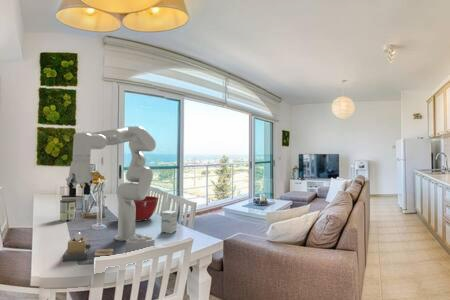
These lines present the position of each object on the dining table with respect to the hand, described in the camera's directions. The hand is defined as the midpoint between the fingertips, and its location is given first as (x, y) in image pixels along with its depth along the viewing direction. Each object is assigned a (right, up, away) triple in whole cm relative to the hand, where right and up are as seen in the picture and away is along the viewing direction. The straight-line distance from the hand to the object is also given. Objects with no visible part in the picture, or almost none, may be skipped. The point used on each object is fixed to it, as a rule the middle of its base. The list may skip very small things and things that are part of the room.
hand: (79, 195), depth 138 cm
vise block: (-1, -29, +1) cm, 29 cm away
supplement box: (+33, -30, +46) cm, 64 cm away
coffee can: (-45, -29, +74) cm, 92 cm away
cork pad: (+9, -29, +6) cm, 31 cm away
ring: (-1, -26, 0) cm, 26 cm away
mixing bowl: (+4, -30, +79) cm, 84 cm away
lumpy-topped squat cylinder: (+26, -30, +6) cm, 40 cm away
